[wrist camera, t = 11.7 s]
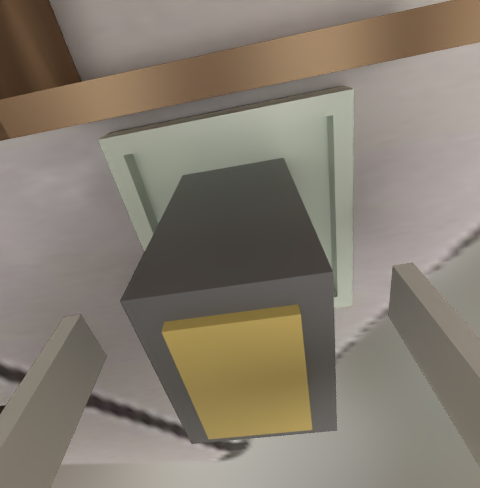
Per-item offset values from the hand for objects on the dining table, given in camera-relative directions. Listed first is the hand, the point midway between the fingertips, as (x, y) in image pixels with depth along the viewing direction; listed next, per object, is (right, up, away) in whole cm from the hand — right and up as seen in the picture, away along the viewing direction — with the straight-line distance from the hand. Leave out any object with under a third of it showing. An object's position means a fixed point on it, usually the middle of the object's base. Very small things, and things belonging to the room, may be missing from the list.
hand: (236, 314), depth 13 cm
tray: (0, +4, +7) cm, 8 cm away
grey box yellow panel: (0, +4, +7) cm, 8 cm away
